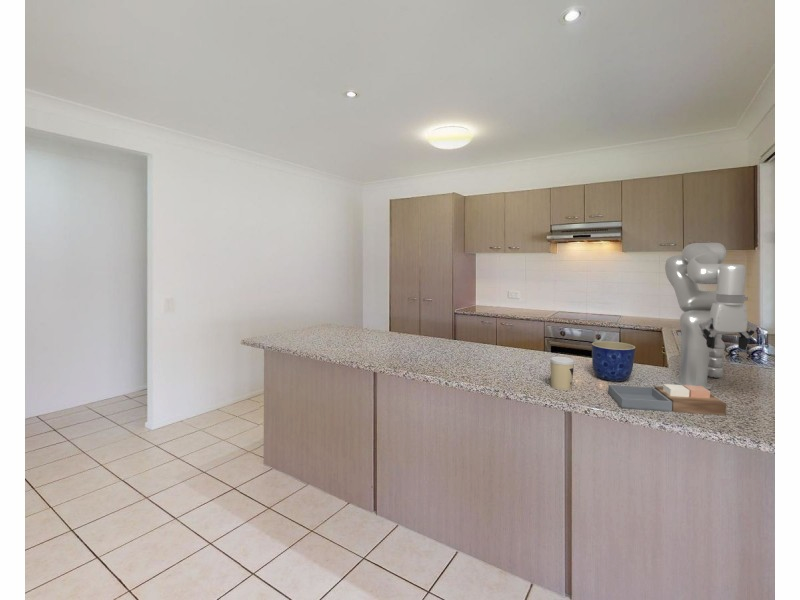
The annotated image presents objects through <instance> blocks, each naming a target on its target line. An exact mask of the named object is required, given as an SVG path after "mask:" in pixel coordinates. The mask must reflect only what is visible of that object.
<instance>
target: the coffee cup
mask: <svg viewBox="0 0 800 600" xmlns="http://www.w3.org/2000/svg"><path fill="white" fill-rule="evenodd" d="M549 359H550V360H549V363H550V365H549V366H550V383H551V384H550V386H551V388H552V389H553V390H556V389H557V391H563V390H566V391H570V389H571V390H572V386H573V377H574V367H575V360H574V359H573V358H570V357H567V356H553V357H550V358H549Z"/></svg>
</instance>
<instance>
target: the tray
mask: <svg viewBox="0 0 800 600" xmlns="http://www.w3.org/2000/svg"><path fill="white" fill-rule="evenodd" d="M607 394H608V395H609V396H610V398H611V399H614V400H613V401H614V402H615V403H616V404H617V405H618V406H619V407H620V409H624V410H625V409H626V410H639V411H640V410H641V411H653V412H656V411H658V412H672V401H671V400H669V399H668V398H667V397H665V396H664V395H663V394H661V393H660V392H659V391H658V390H656V389H655V388H654V386H653V387H651V386H650V387H649V386H633V385H632V386H631V385H630V386H629V385H618V384H617V385H615V384H613V385H612V384H608V391H607Z"/></svg>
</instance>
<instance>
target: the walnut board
mask: <svg viewBox="0 0 800 600" xmlns="http://www.w3.org/2000/svg"><path fill="white" fill-rule="evenodd" d="M653 387H654V388H655V389H656V390H658V391H659V392H660V393H661V394H663V395H664V396H665V397H667V398H668V399H669V400H671V401H672V412H674V413H683V414H684V413H687V414H700V415H701V414H703V415H718V416H726V412H727V411H726V410H727V402H724V401H723V400H721V399H720V398H717V397H715V396H714V395H713V394H711V393H710V398H697V397H690V396H689V397H679V396H670V395H668V394H667V393H666V392H664V391H663V386H656V385H654V386H653Z"/></svg>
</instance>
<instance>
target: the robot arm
mask: <svg viewBox="0 0 800 600" xmlns="http://www.w3.org/2000/svg"><path fill="white" fill-rule="evenodd" d="M726 257H727V249H726V246H725V245H723V244H722V243H720V242H693V243H690V244H689V243H688V244H687V245H686V246H685V247H684V248H683V249H682V252H681V254H677V255H671V256H669V258H667V259H666V262H665V264H664V265H665V267H664V269H665V275H666V278H667V280H668V281H669V283H670V285H671V286H672V288H673V290H674V293H675V296H676V300H677V302H678V305H679V308H680V310H681V311H682V313H681V315H680V317H679V324H680V333H681V337H680V339H681V340H680V356H679V357H680V358H679V372H678V378H676V379H675V378H674V380H673V383H674V385H682V386H683V385H691V386H702V387H704V388H706V389H707V390H711V389H712V384H711V383H709V382H708V377H709V376H708V362H709V348H711V349H713V348H714V344H715V337H713V336H714V335H715V334H722V335H729V334H730V333H734V334H735V333H736V334H739V337H738V344H737V346H738V349H740V350H747V347H748V339H750V337H751V336H752V335H754V334H755V331H756V330H757V329H758V325H756V324H754V323H753V322H751V321H748V311H747V306H746V303H745V302H746V301H748V300H749V297H748V296H746V295H745V288H746V287H745V286H746V285H745V284H746V274H747V268H746V266H745V265H744V264H738V263H737V264H736V263H735V264H734V263H723V262H724V261H725V259H726ZM698 285H716V290H715V291H714V290H712V291H711V290H701V289H700V288H699V286H698ZM748 327H749V328H748ZM704 335H705V336H706V338H705V336H704Z"/></svg>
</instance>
